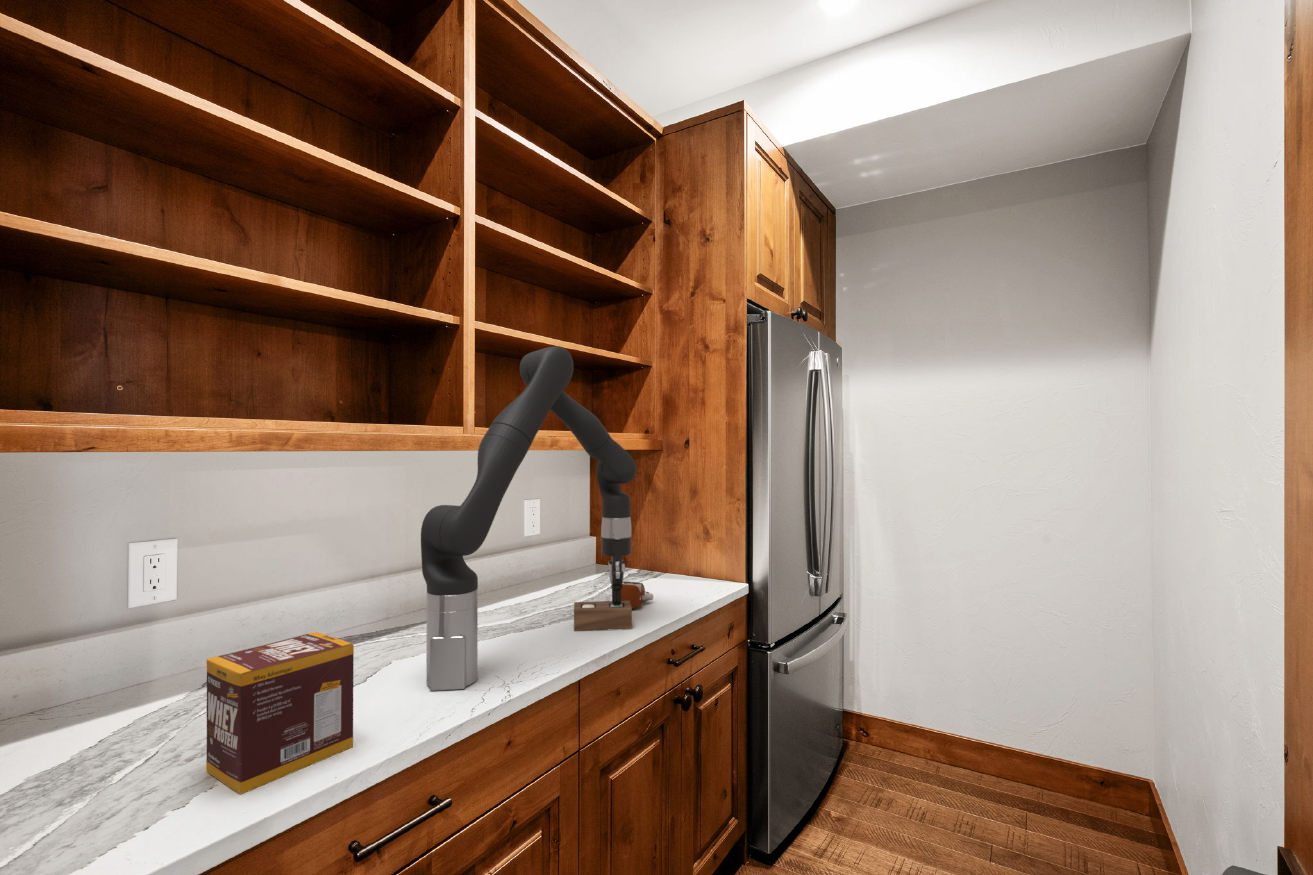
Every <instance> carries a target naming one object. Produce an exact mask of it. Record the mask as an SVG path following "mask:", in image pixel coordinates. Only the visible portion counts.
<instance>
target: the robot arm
mask: <svg viewBox="0 0 1313 875" xmlns="http://www.w3.org/2000/svg"><path fill="white" fill-rule="evenodd" d="M519 363H520V364H519V375H520V377H521V379H522V381H523V383H524V384H525V385H526V388H524V390H523V391H522V392H521V393H520V394H519V395H517V397H516V398H515V399H513V401H511V403H508V405H507V406H506V407H505V408H504V409H503V410H502V411H501V412H500V413H499V414H498V415H497V416H496V417H495V418H494V420H493V421H492V423H491V424H490V426H489V427H488V429H487V431H486V433H485V434H484V436H483V437H482V439H481V441H480V444H479V446H478V450H477V473H476V474H477V475H476V479H475V482H474V483H473V486H472V487H471V489H470V491H469V493H468V495H467V496H466V498H465V499H464V500H463V502H462V503H461V504H460V505H454V504H453V505H452V504H441V505H437V506H434V507H432V508H431V509H430V510H429V511H428V512H427V513H426V514H425V516H424V519H423V521H422V522H421V523H422V524H421V528H420V554H421V555H420V556H421V572H422V576H423V579H424V581H425V583H426V645H425V646H426V653H425V654H426V663H425V664H426V685H427V687H428V688H429V691H448V690H449V691H450V690H465V688H467V686H470V685H473V683H474V684H475V683H476V681H477V680H478V678H479V677H478V676H479V675H478V673H479V671H478V669H479V668H478V665H479V664H478V662H479V660H478V659H479V657H478V650H479V648H478V645H479V644H478V643H479V642H478V638H479V637H478V635H479V634H478V632H479V628H478V625H479V624H478V620H479V619H478V617H479V616H478V611H479V610H478V608H479V606H478V605H479V602H478V600H479V598H478V597H479V594H478V592H479V590H478V589H479V583H478V582H479V580H478V575H477V573H476V572H475V571H474V570H473V569H472V568H470V566H468V564H467V563H466V561H465V559H464V557H465V556H470V555H473V554H474V553H475V552H477V551H478V550H479V549H480V548H481V547H482V545H483V544H484V543H485V540H486V539H487V536H488V535H489V531H490V529H491V527H492V525H493V522H494V520H495V518H496V515H497V513H498V511H499V508H500V505H501V503H502V501H503V499H504V496H505V494H506V493H507V490H508V488H509V486H510V484H511V482H512V480H513V478H514V477H515V474H516V473H517V471H518V470H519V467H520V465H521V464H522V463H523V460H524V459H525V457H526V456H527V454H528V452H529V450H530V448H531V446H532V444H533V442H534V440H535V439H536V438H535V437H536V436H537V434H538V432H539V431H540V428H541V427H542V425H543V424H544V422H545V420H546V418H547V416H548V414H549V412H550V411H551V412H552V413H553V414H554V415H556V417H557V418H558V419H559V420H561V422H562V423H563V424H564V425H565V426H566V428H567V429H569V431H570V432H571V433H572V434H573V436H574V437H575V439H576V440H577V441H578V443H579V444H580V446H582V448H583V449H584V451H585V453H587V455H588V456H590V457H591V458H593V459H595V460H598V463H597V464H596V465H597V466H596V470H595V472H596V480H597V485H598V489H599V493H600V496H601V501H602V506H601V508H602V518H601V519H602V520H601V529H600V530H601V533H600V536H601V539H600V540H601V546H600V547H601V549H600V551H601V554H602V555H603V556H607V557H611V560H608V561H607V562H608V567H607V568H608V571H609V574H608V575H609V581H610V584H611V585H610V589H611V601H612V604H613V605H621V590H622V588H623V585H622V582H624V579H625V576H624V575H625V568H626V565H625V564H626V563H625V560H624V559H623V556H628V555H631V554H632V521H631V498H630V495H629V494H628V493H625V492H623V491H622V488H621V485H620V484H623V485H624V484H629V483H631V482H632V481H633V480H634V479H635V478H636V474H637V465H636V462H635V460H634V458H633V457H632V455H630V453H628V451H627V450H626V449H625V448H623V447H622V445H620V444H619V443H618V442H617V441H616V440H614V439H613V438H612V436H611V435H610V434H609V432H608V430H607V429H606V427H604V425H603V423H602V422H601V421H600V420H599V418H598V417H597V416H596V415H595V414H593V412H591V411H590V410H589V409H587V408H586V407H584V406H583V405H581V404H580V403H579V402H578V401H575V399H573V398H572V397H571V396H570V395H568V393H566V392H565V389H566V388H567V386H568V385H569V383H570V381H571V379H572V377H573V373H574V368H575V367H574V360H573V356H572V354H571V353H570V352H569V351H568V349H566V348H564V347H562V346H548V347H545V348H540V349H538V350H534V351H530V352H529V353H527V354H525V355H524V356H523V357H522V359H521V361H520V362H519Z"/></svg>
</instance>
